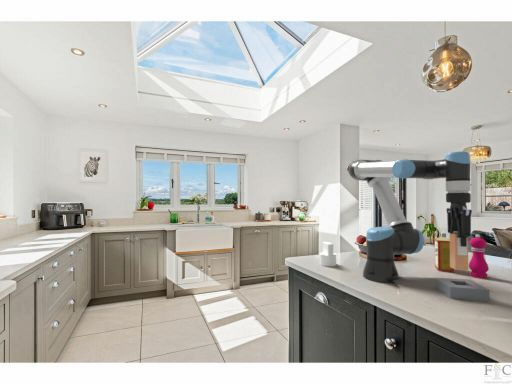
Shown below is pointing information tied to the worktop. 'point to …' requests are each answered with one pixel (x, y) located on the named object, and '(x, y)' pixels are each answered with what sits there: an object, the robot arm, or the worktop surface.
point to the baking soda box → (442, 255)
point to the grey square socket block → (462, 289)
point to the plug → (457, 260)
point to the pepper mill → (478, 258)
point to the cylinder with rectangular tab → (327, 255)
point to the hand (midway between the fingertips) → (458, 253)
